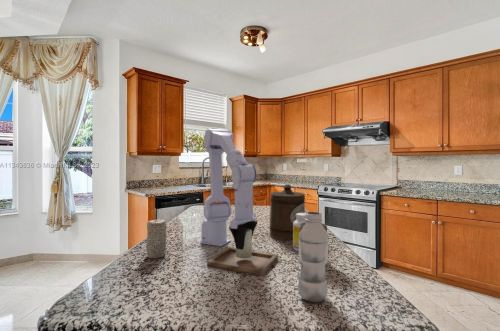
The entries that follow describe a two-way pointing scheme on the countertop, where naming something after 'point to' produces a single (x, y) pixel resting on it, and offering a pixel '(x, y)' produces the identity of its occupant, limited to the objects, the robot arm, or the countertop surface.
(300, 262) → the jar
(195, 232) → the countertop surface
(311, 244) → the plastic bottle
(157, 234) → the carving
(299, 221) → the supplement bottle
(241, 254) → the cup
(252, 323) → the countertop surface
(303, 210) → the wooden container
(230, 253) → the tray
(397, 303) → the countertop surface
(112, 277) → the countertop surface
